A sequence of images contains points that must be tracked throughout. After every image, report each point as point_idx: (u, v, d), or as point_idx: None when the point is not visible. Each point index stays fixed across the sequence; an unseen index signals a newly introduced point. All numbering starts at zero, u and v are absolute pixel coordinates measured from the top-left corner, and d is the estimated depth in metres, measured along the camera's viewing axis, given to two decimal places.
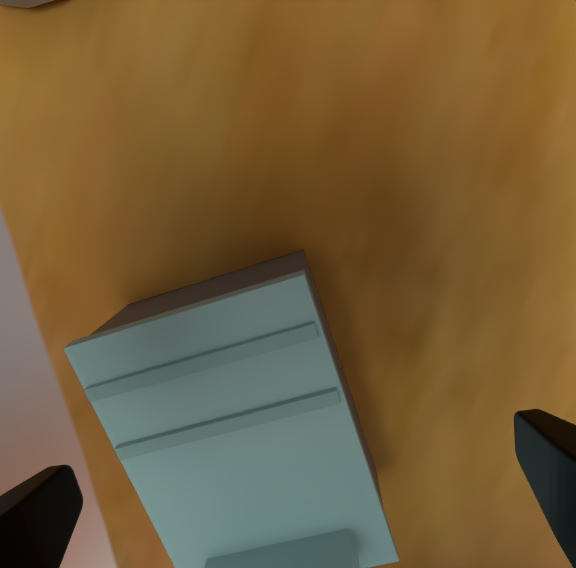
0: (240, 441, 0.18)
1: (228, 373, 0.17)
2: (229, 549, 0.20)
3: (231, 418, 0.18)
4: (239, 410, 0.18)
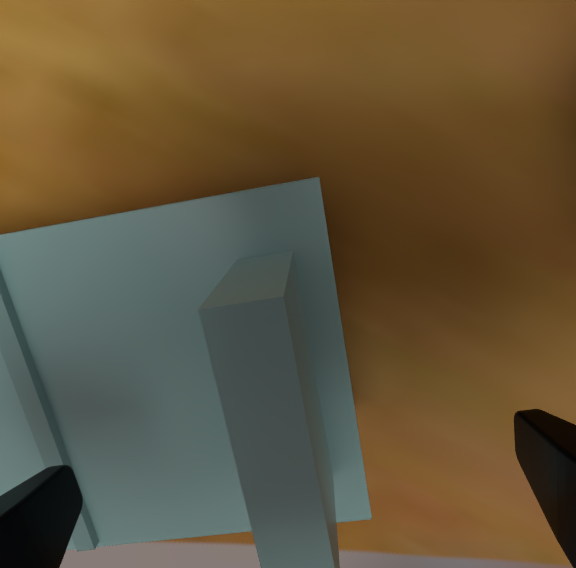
0: (70, 395, 0.13)
1: None
2: None
3: (21, 401, 0.12)
4: None
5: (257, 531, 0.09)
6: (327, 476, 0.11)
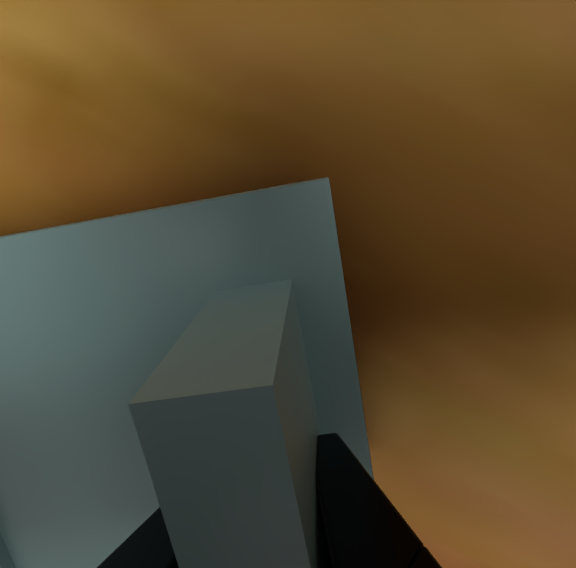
0: (1, 463, 0.10)
1: None
2: None
3: None
4: None
5: None
6: None
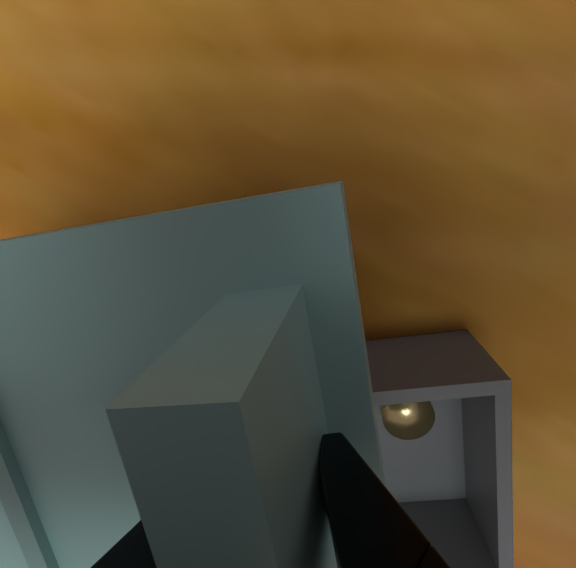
0: (35, 443, 0.10)
1: None
2: None
3: None
4: None
5: None
6: None
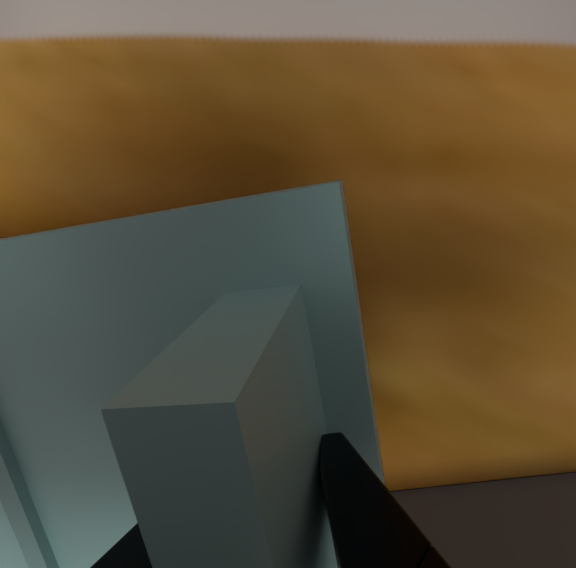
0: (34, 442, 0.10)
1: None
2: None
3: None
4: None
5: None
6: None
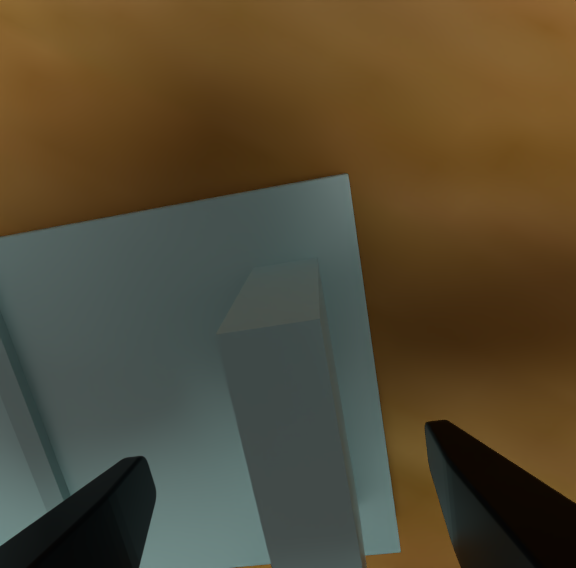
0: (68, 416, 0.11)
1: None
2: None
3: (13, 424, 0.11)
4: None
5: None
6: (357, 514, 0.09)
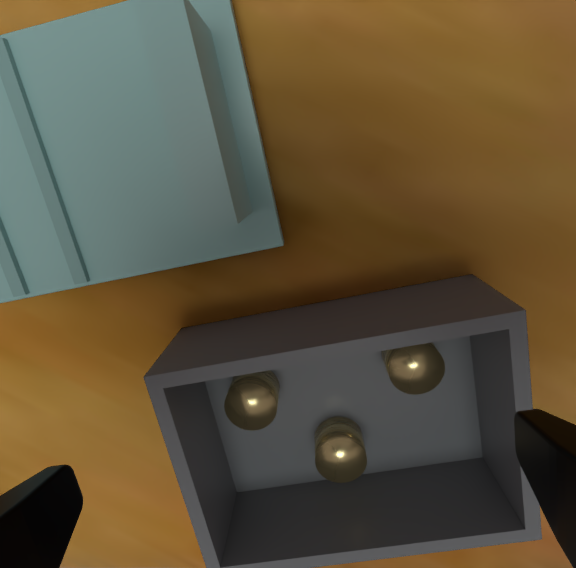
0: (65, 156, 0.18)
1: None
2: None
3: (31, 160, 0.18)
4: (28, 152, 0.18)
5: (179, 164, 0.14)
6: (236, 175, 0.16)
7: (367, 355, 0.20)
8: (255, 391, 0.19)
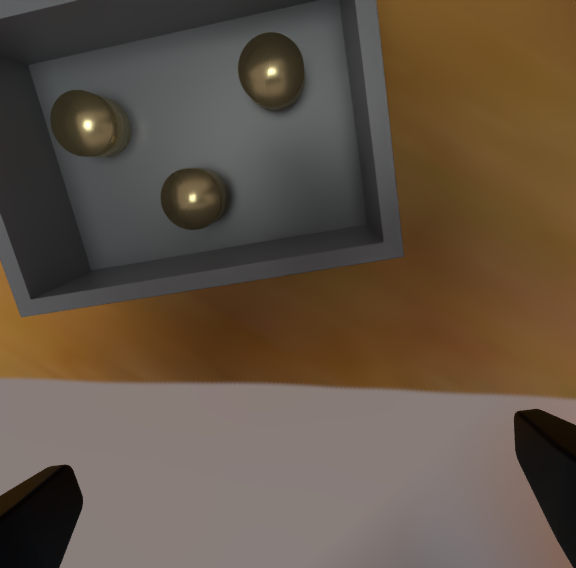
0: None
1: None
2: None
3: None
4: None
5: None
6: None
7: (229, 84, 0.17)
8: (84, 101, 0.16)
